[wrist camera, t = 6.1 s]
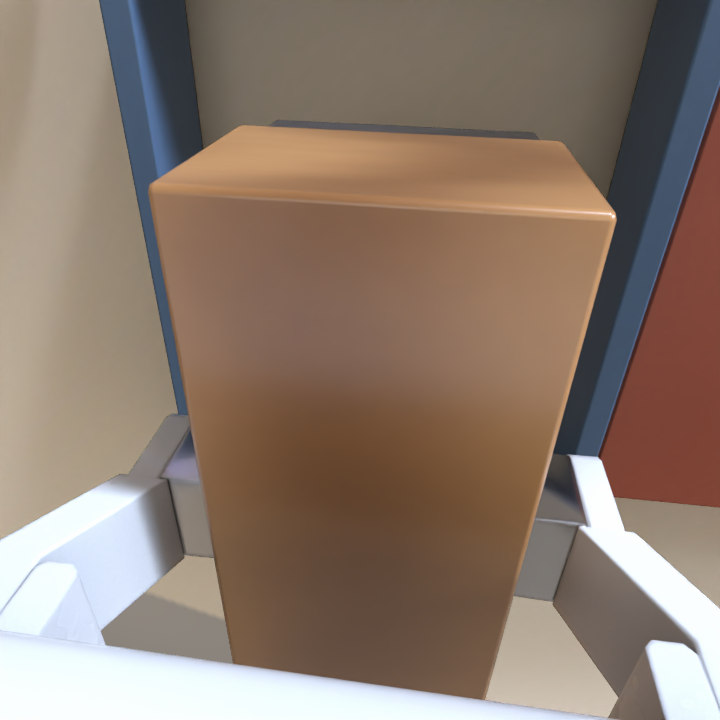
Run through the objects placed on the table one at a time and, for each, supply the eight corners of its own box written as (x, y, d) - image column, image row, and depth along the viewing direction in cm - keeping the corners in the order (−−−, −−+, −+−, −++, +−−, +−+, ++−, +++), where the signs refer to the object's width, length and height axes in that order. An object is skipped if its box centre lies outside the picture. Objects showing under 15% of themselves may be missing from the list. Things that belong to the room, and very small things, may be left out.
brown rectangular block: (549, 118, 9) (622, 213, 5) (463, 570, 15) (468, 766, 11) (265, 105, 9) (142, 183, 6) (293, 550, 15) (243, 731, 12)
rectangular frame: (717, -101, 14) (790, -126, 11) (558, 464, 24) (574, 529, 21) (143, -107, 15) (72, -130, 12) (220, 432, 25) (192, 489, 22)
